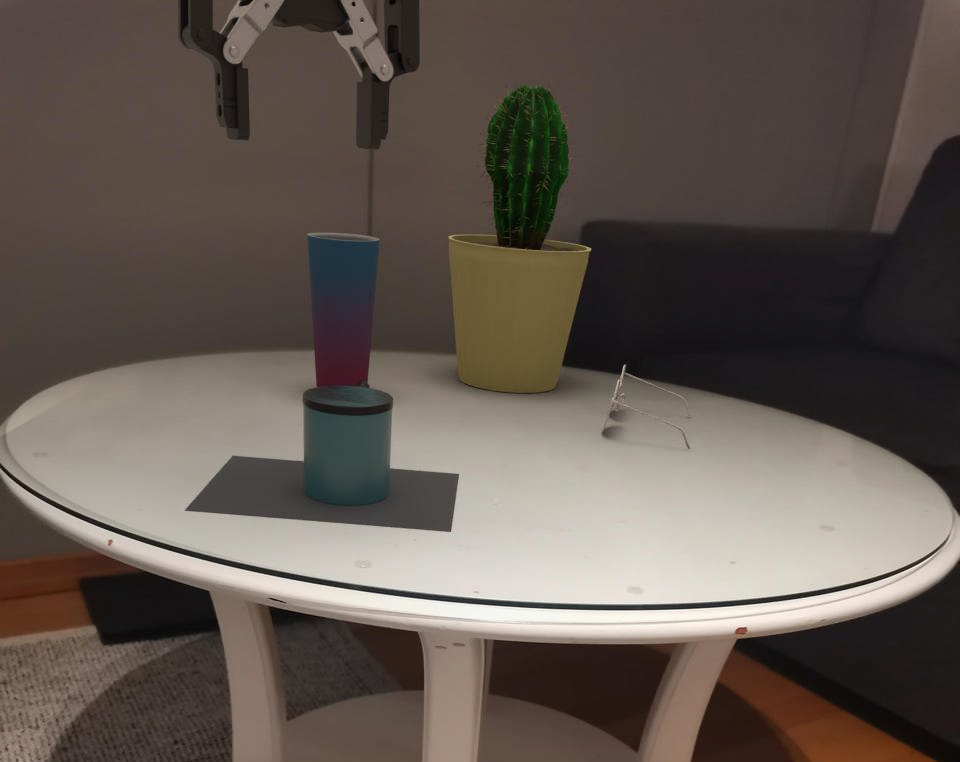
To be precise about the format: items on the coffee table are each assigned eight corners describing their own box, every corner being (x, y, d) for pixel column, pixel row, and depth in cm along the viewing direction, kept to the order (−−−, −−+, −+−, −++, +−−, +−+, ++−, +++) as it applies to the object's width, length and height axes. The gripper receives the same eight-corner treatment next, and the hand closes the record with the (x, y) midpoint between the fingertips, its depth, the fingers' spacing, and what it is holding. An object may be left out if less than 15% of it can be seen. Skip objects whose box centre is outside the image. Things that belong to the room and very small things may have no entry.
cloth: (184, 515, 66) (184, 510, 65) (232, 460, 77) (232, 455, 77) (450, 536, 66) (451, 531, 66) (458, 478, 77) (459, 473, 77)
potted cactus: (583, 376, 116) (618, 89, 103) (564, 404, 103) (601, 78, 89) (458, 361, 119) (477, 79, 105) (424, 386, 105) (439, 66, 92)
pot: (295, 502, 68) (294, 402, 65) (322, 455, 79) (323, 368, 76) (384, 509, 69) (388, 410, 65) (400, 462, 79) (404, 374, 76)
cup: (318, 404, 95) (318, 239, 88) (300, 387, 100) (299, 231, 94) (384, 402, 98) (389, 242, 91) (363, 386, 103) (366, 234, 96)
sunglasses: (611, 406, 104) (625, 360, 101) (687, 429, 103) (703, 383, 101) (598, 438, 91) (614, 387, 89) (685, 464, 91) (703, 413, 88)
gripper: (389, -149, 59) (381, 149, 66) (150, -207, 52) (171, 134, 59) (450, -174, 53) (435, 155, 61) (192, -243, 46) (210, 138, 54)
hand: (305, 144), depth 60 cm, fingers open, 8 cm apart
